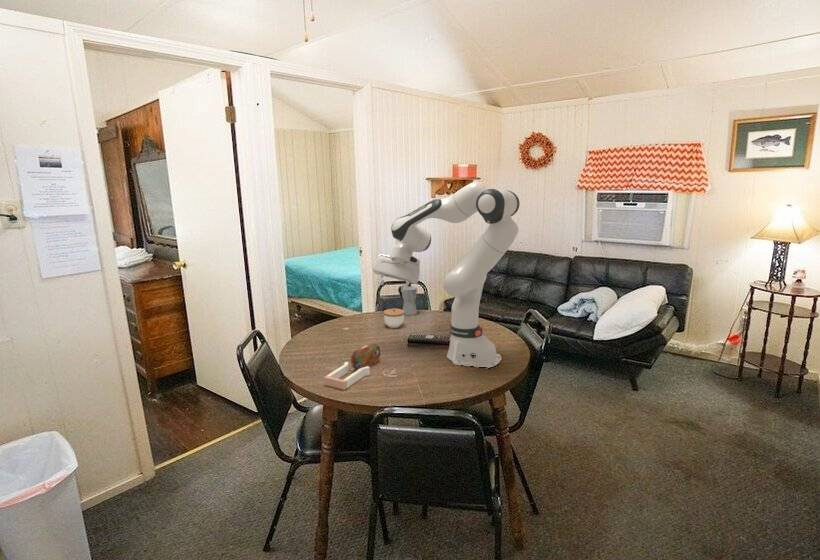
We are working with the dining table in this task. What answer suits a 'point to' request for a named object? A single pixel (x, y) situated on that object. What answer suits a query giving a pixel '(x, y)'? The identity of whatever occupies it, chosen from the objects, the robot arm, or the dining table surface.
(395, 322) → the lidded jar
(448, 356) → the robot arm
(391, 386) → the dining table surface
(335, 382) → the guide channel
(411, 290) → the coffee maker
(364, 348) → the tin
